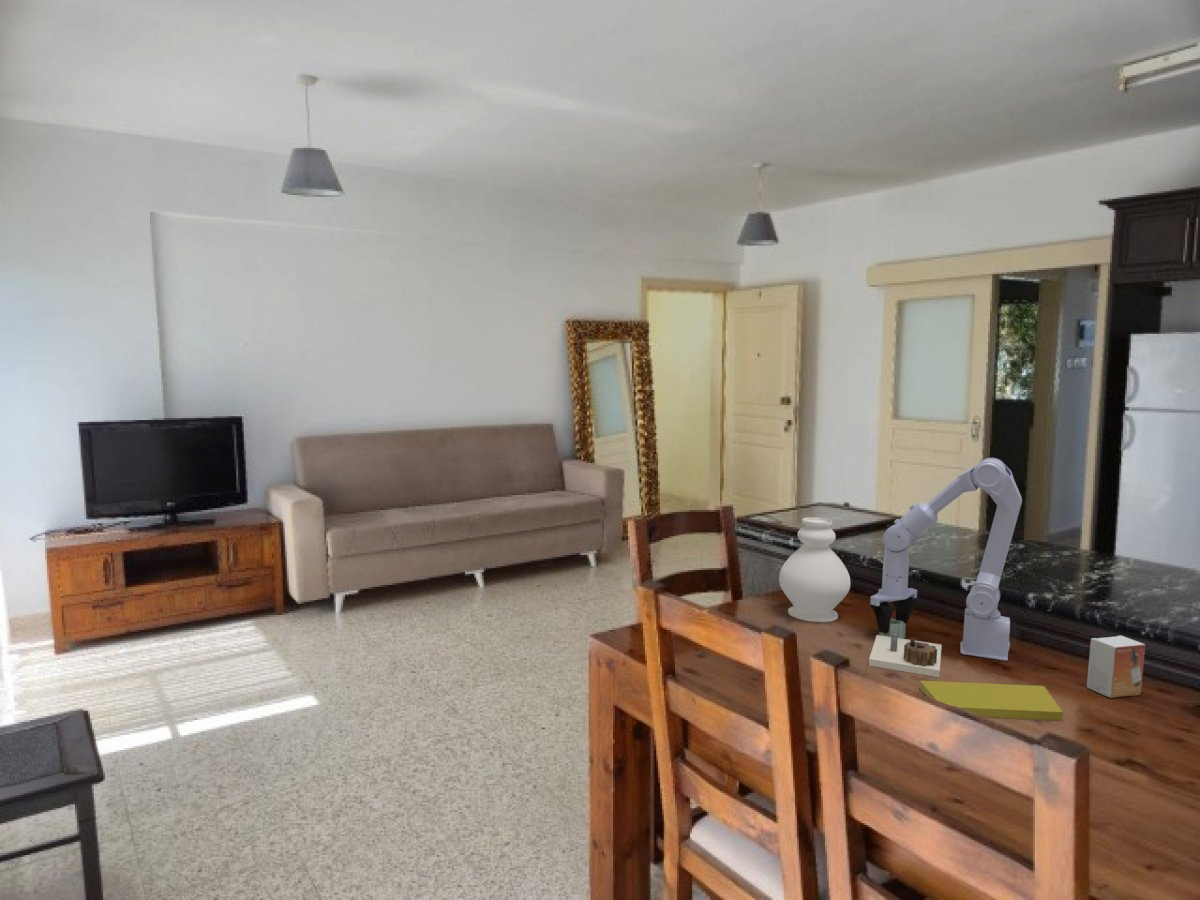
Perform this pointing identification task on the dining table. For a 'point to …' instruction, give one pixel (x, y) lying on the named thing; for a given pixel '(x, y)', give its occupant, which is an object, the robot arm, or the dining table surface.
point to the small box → (1115, 666)
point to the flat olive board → (996, 699)
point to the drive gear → (920, 653)
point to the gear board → (900, 656)
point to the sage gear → (895, 629)
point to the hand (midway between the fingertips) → (892, 630)
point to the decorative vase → (814, 574)
